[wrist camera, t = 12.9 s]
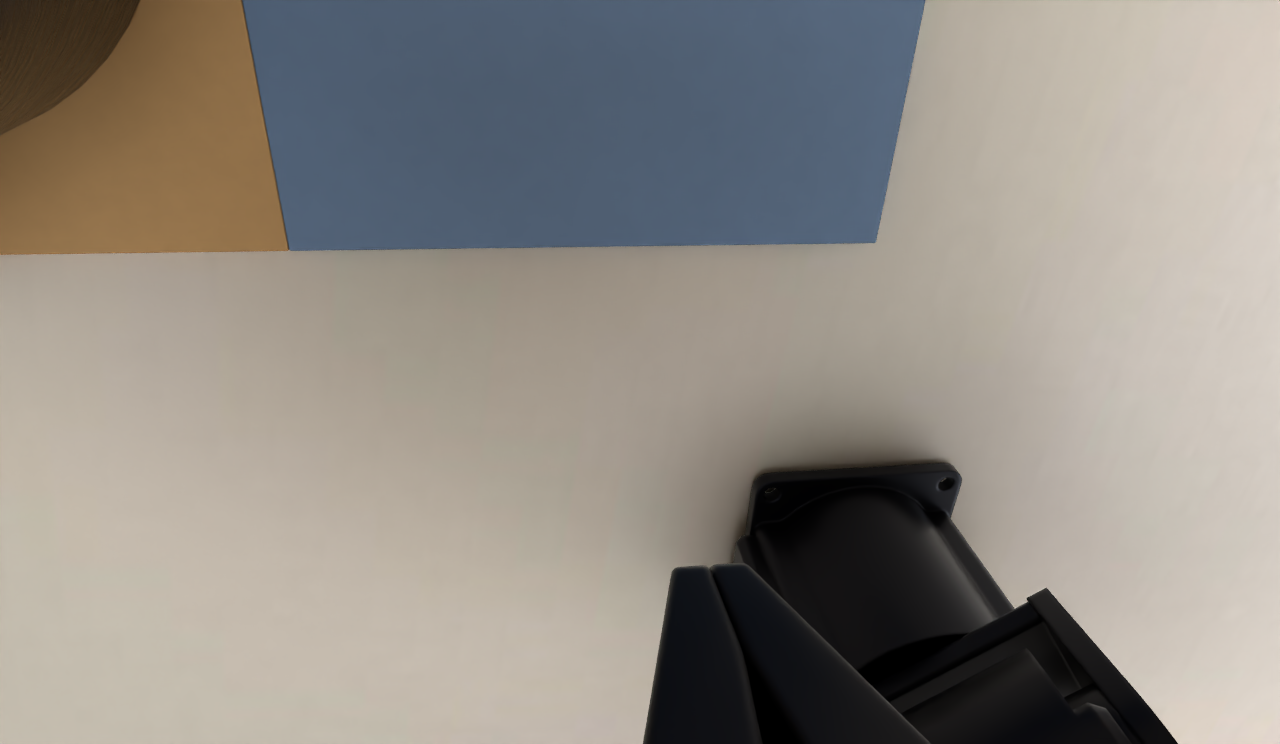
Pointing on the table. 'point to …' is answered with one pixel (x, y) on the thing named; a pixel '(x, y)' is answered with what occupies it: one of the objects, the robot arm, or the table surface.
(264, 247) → the desk mat
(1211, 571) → the table surface
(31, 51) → the pot
